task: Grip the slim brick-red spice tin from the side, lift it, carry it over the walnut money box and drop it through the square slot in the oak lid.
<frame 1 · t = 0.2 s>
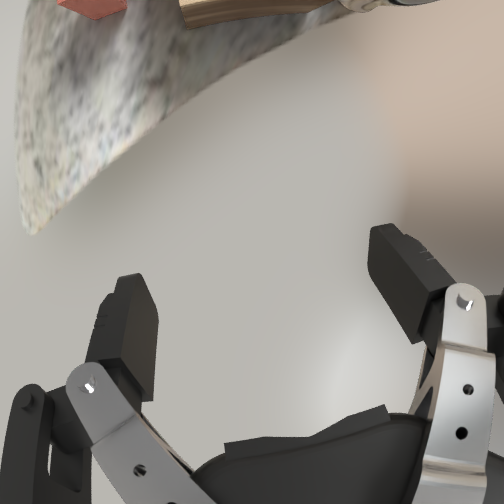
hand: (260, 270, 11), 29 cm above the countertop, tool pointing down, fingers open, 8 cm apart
spice tin: (108, 0, 24), on the countertop
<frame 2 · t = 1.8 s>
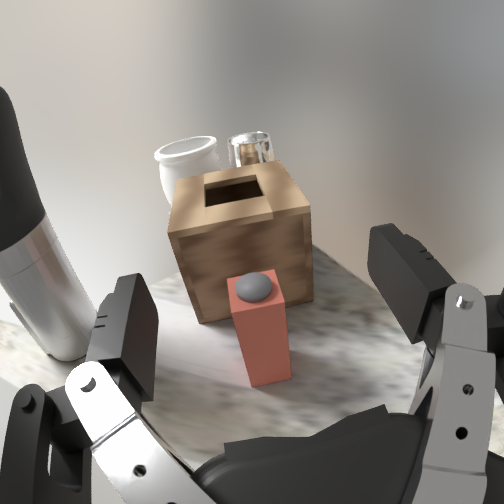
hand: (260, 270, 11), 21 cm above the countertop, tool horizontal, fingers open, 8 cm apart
slot box: (248, 276, 43), on the countertop
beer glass: (260, 222, 55), on the countertop
spice tin: (268, 367, 31), on the countertop
jar: (203, 224, 57), on the countertop
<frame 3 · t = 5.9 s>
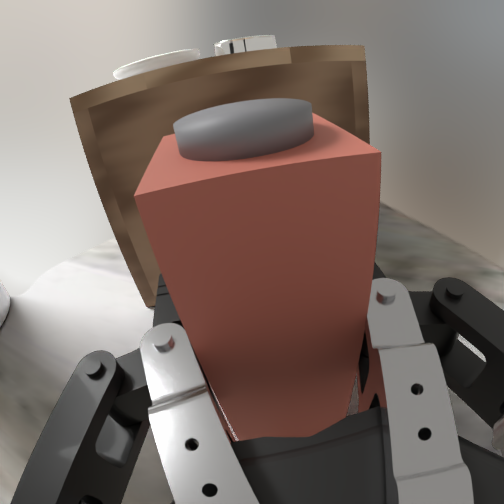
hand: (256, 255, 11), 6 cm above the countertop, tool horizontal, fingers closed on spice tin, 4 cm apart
slot box: (243, 228, 25), on the countertop
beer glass: (262, 165, 37), on the countertop
spice tin: (285, 403, 13), on the countertop, touching gripper
jar: (181, 173, 39), on the countertop
when the fingers open (20 cm above the countertop, at t = 9.7 s): spice tin drops 13 cm, resting on slot box.
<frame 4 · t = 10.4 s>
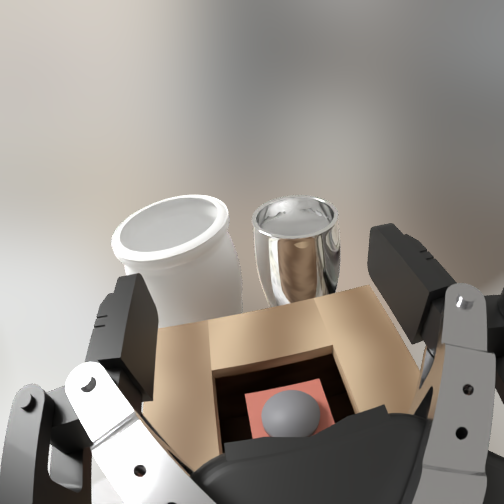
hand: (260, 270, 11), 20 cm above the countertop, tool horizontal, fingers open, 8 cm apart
slot box: (293, 474, 21), on the countertop
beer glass: (302, 341, 32), on the countertop
spice tin: (290, 471, 20), point 1 cm above the countertop, touching slot box
jar: (208, 339, 34), on the countertop
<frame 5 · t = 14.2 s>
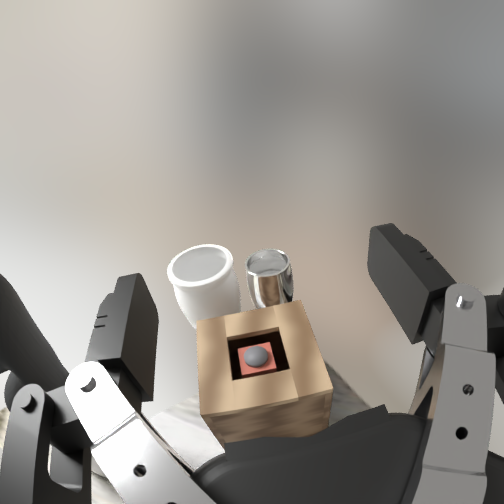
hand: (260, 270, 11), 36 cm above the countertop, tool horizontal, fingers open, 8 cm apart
slot box: (268, 402, 43), on the countertop
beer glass: (276, 330, 55), on the countertop
spice tin: (266, 399, 42), point 1 cm above the countertop, touching slot box
jar: (219, 328, 57), on the countertop
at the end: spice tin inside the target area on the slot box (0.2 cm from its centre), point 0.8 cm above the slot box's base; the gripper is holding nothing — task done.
